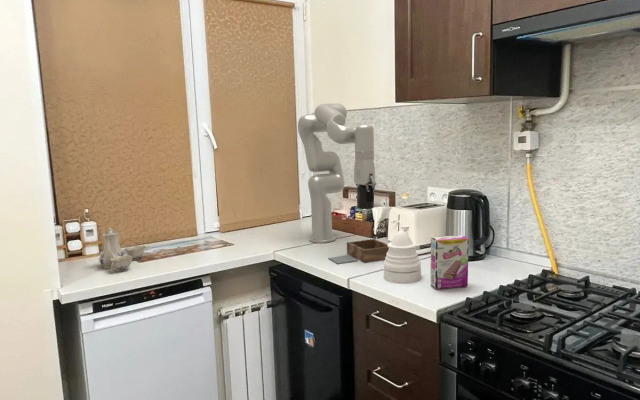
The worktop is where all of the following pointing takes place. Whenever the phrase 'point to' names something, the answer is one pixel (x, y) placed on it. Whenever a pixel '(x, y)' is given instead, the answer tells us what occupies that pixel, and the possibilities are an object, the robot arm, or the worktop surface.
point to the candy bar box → (449, 262)
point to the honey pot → (402, 259)
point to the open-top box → (367, 250)
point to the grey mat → (343, 259)
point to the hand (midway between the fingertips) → (365, 200)
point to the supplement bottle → (363, 198)
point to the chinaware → (118, 252)
